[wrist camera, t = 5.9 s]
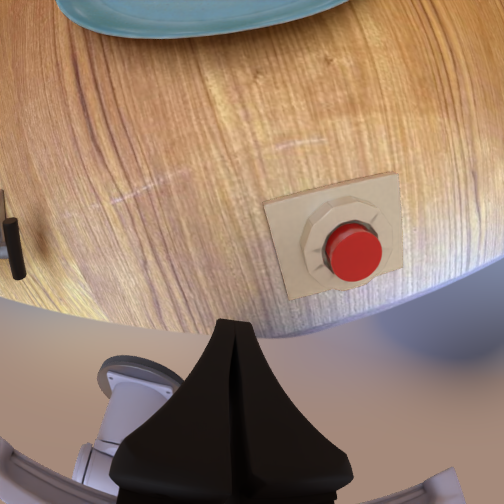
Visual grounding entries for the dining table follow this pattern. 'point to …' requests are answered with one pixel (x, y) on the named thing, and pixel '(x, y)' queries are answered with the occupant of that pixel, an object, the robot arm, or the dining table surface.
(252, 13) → the teal plate
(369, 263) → the button
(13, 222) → the lever
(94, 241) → the dining table surface
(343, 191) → the button block
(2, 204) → the bracket
